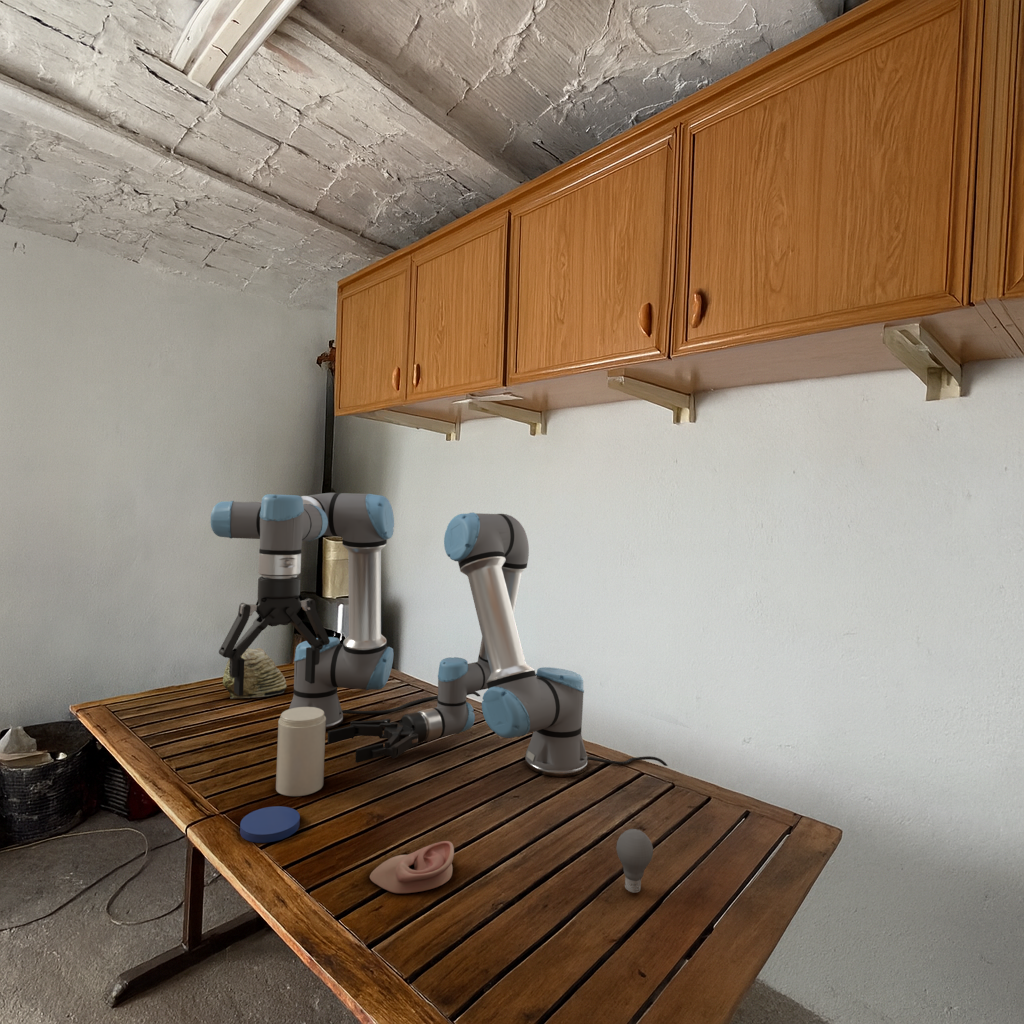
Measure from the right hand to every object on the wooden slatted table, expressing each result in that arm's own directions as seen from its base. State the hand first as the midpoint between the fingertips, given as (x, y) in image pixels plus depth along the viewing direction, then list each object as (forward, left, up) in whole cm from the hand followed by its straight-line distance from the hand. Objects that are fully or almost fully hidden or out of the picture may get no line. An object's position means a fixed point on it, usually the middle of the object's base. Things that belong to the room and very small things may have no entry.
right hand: (341, 746), depth 145 cm
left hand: (+14, +21, +20) cm, 32 cm away
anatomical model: (-10, +42, -7) cm, 44 cm away
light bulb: (-45, +55, -7) cm, 71 cm away
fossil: (+24, -63, -7) cm, 68 cm away
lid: (+14, +21, -5) cm, 26 cm away
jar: (+9, +4, -7) cm, 12 cm away
